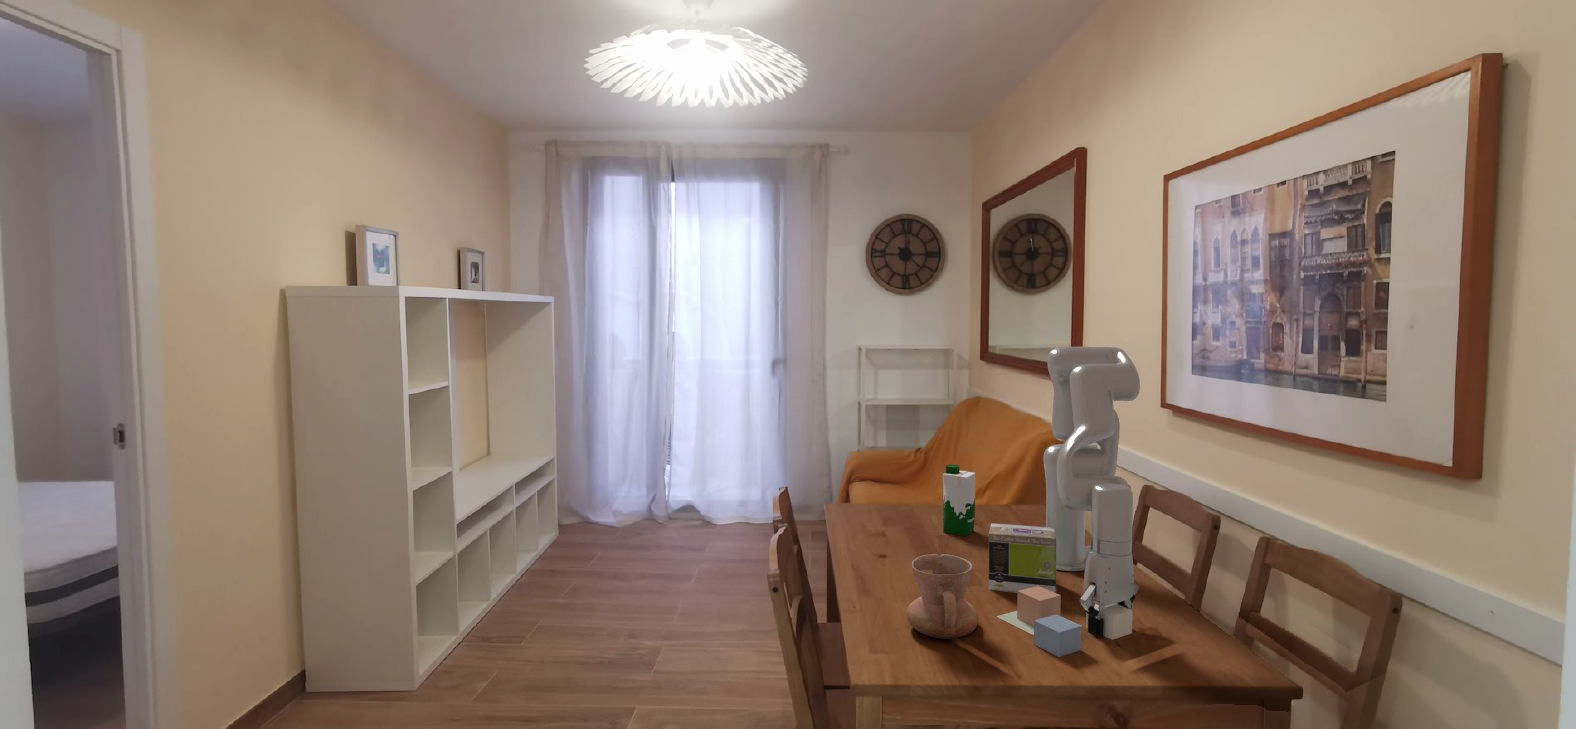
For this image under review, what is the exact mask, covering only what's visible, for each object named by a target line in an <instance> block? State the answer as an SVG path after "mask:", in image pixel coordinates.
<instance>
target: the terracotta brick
mask: <svg viewBox="0 0 1576 729" xmlns="http://www.w3.org/2000/svg"><path fill="white" fill-rule="evenodd" d="M1061 598H1062V596H1061V594H1059V593H1057V592H1056V593H1054V592H1052V591H1049V590H1047V589H1045V588H1042V587H1040V586H1035V587H1031V588H1027V589H1023V590H1019V591H1018V593H1017V604H1016V605H1017V606H1016V608H1017V609H1016V611H1017V619H1019V620H1021V621H1023V622H1025V623H1027V624H1029V625H1031V626H1033V627H1034V620H1038V619H1041V618H1045V617H1048V616H1052V615H1058V616H1061V604H1062V603H1061V601H1062V599H1061Z"/></svg>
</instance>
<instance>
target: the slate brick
mask: <svg viewBox="0 0 1576 729" xmlns="http://www.w3.org/2000/svg"><path fill="white" fill-rule="evenodd" d="M1069 620H1070V619H1068V620H1067V618H1066V619H1065V617H1063V616H1061V615H1060V616H1058V615H1052V616H1048V617H1045V618H1041V619H1038V620H1034V635H1033V645H1034V646H1036V647H1039V648H1040V649H1042V650H1044V651H1046V652H1048V653H1050V654H1051V655H1053V656H1056V657H1057V658H1060V657H1064V656H1066V655H1070V654H1073V653H1075V652H1076V653H1077V652H1079V651H1081V650H1082V627H1081V626H1082V625H1081V624H1079V625H1078V623H1077V624H1076V622H1074V621H1071V620H1070V621H1069ZM1080 625H1081V626H1080Z"/></svg>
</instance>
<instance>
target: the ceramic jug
mask: <svg viewBox="0 0 1576 729" xmlns="http://www.w3.org/2000/svg"><path fill="white" fill-rule="evenodd" d="M911 568H912V572H913V573H912V574H913V577H914V580H915V582H916V586H917V588H918V591H919V593H920V595H921V596H919V597H917V598H915V599H914V600H913V601H911V602H910V604H908V607H907V609H906V618H907V621H908V623H909V625H910V626H911V627H912V628H913V629H914V630H916V631H917V632H919V633H921V634H922V635H925V636H928V637H931V638H935V639H942V640H943V639H944V640H949V639H950V640H951V639H959V638H962V637H965V636H968V635H970V634H972V633H973V631H975V629H977V625H978V622H979V615H978V613H977V610H976V608H975V607H974V606H973V605H972V604H971V603H970V602H969V601H967V600H966V599H964V597H965V595H966V592H967V590H968V587H969V584H970V582H971V579H972V578H971V577H972V573H973V565H972V563H971V561H969V560H968V559H965V558H962V557H960V556H957V555H953V554H943V553H942V554H941V555H939V554H937V553H933V554H931V553H929V554H924V555H920V556H918V557H916V558H915V559H913V560H912V562H911ZM925 570H926V571H927V570H928V571H931V573H930V572H929V573H928V572H924V571H925Z"/></svg>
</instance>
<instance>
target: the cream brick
mask: <svg viewBox="0 0 1576 729" xmlns="http://www.w3.org/2000/svg"><path fill="white" fill-rule="evenodd" d="M1098 607H1099V605H1096V604H1095V606H1094V608H1095V609H1096V611H1097V610H1098ZM1101 618H1102V619H1104V630H1103V637H1105V638H1108V639H1109V640H1115V639H1119V638H1122V637H1125V636H1128V635H1131V634H1133V609H1132V610H1130V609H1128V608H1125V607H1123V606H1120V605H1118V604H1117V603H1115V604H1111V605H1108V606H1105V609H1104V612H1103V614H1102V617H1101ZM1085 621H1086V623H1085V625H1086V626H1085V627H1086V629H1087V630H1088V615H1087V614H1086V620H1085Z"/></svg>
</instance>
